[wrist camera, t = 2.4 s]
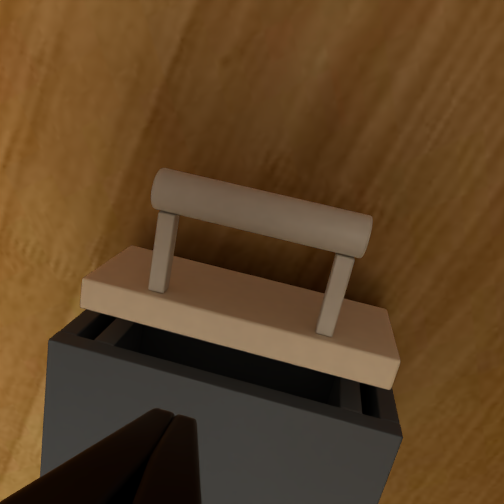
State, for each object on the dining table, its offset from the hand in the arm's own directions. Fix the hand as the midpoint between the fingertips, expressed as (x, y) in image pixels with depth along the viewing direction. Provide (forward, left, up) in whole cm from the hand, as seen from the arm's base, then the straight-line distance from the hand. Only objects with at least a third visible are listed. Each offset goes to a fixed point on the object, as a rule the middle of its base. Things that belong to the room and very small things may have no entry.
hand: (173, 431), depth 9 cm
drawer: (0, +5, -11) cm, 12 cm away
